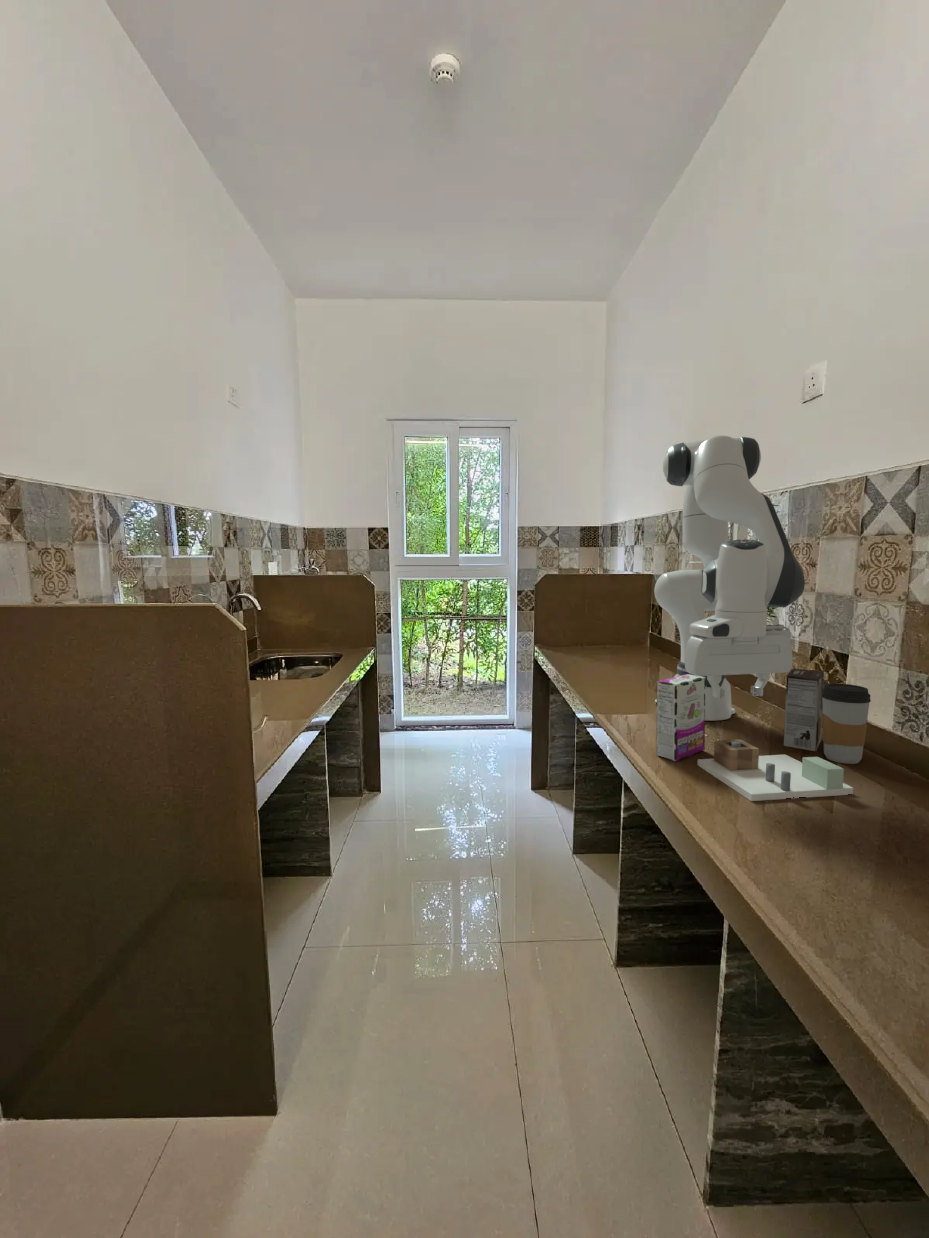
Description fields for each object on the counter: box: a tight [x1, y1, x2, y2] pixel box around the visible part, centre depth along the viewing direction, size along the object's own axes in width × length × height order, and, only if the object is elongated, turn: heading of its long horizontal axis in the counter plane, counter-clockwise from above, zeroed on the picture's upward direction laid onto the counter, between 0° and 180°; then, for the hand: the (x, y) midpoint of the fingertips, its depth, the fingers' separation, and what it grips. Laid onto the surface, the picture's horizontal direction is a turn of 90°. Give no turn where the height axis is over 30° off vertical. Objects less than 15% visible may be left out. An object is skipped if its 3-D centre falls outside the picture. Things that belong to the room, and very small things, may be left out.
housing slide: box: [801, 756, 845, 789], centre depth 96 cm, size 6×3×4 cm, turn 6°
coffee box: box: [783, 668, 825, 752], centre depth 120 cm, size 9×6×16 cm
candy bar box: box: [656, 674, 706, 762], centre depth 115 cm, size 11×5×16 cm, turn 126°
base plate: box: [697, 741, 854, 802], centre depth 101 cm, size 17×19×6 cm
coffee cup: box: [821, 683, 872, 765], centre depth 110 cm, size 8×8×15 cm
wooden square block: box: [713, 739, 760, 771], centre depth 105 cm, size 6×6×4 cm
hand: (737, 696), depth 104 cm, fingers open, 6 cm apart
